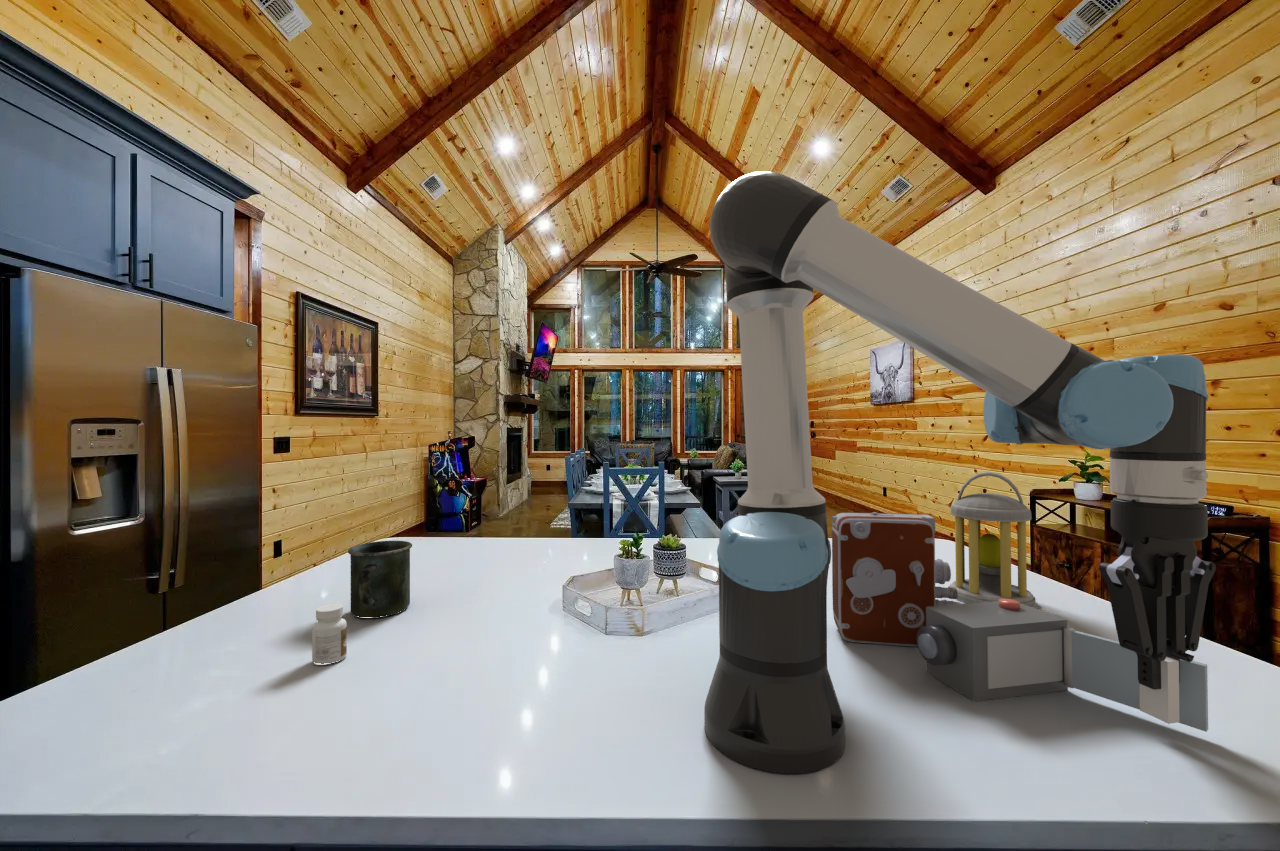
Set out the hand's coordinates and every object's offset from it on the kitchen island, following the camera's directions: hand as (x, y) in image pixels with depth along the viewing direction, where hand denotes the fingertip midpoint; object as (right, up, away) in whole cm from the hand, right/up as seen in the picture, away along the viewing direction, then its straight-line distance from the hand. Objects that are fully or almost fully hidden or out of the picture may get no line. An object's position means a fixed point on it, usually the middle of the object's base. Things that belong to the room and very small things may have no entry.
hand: (1159, 715), depth 57 cm
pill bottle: (-102, -3, +21) cm, 104 cm away
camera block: (-10, -3, +13) cm, 16 cm away
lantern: (+13, -3, +47) cm, 49 cm away
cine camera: (-15, -3, +27) cm, 31 cm away
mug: (-105, -4, +40) cm, 112 cm away
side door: (+1, -1, +5) cm, 5 cm away
